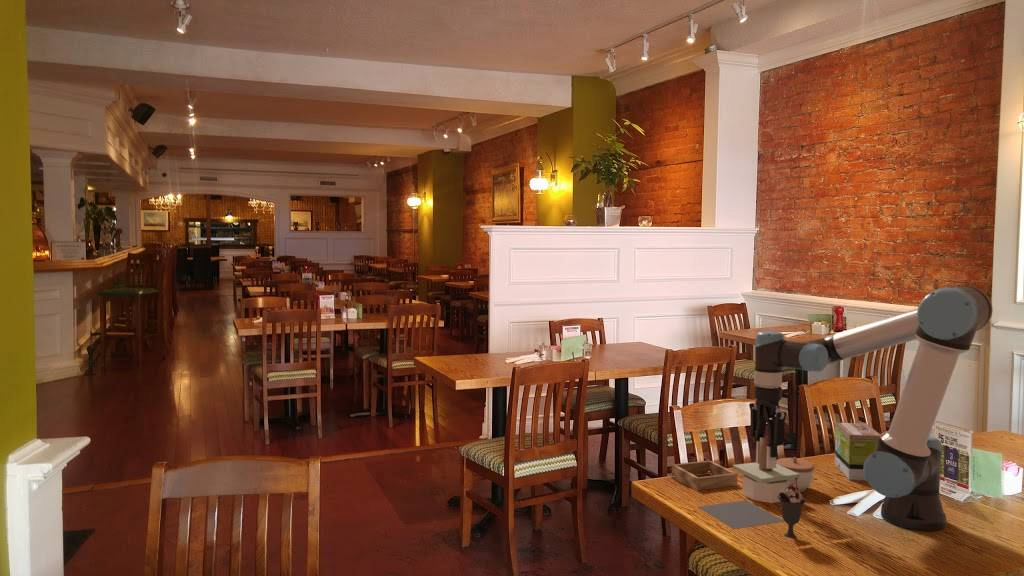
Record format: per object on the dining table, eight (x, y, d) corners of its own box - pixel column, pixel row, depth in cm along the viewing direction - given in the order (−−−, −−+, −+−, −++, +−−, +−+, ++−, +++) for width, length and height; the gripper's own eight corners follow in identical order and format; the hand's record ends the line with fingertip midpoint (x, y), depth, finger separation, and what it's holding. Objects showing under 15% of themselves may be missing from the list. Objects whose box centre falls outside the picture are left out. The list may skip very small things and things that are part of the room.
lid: (799, 478, 203) (800, 442, 203) (761, 483, 199) (762, 446, 198) (769, 464, 216) (770, 430, 215) (732, 469, 211) (733, 434, 211)
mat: (784, 523, 188) (784, 521, 188) (733, 531, 183) (733, 529, 183) (746, 502, 203) (746, 500, 203) (697, 509, 198) (697, 506, 198)
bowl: (795, 501, 204) (796, 480, 204) (761, 506, 200) (761, 485, 200) (768, 487, 215) (768, 468, 215) (735, 492, 212) (735, 472, 211)
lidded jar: (819, 495, 210) (820, 463, 209) (782, 494, 210) (783, 463, 209) (805, 482, 220) (806, 452, 220) (770, 482, 220) (770, 452, 220)
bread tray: (737, 486, 216) (737, 473, 216) (697, 492, 211) (697, 478, 211) (709, 472, 229) (710, 460, 229) (671, 477, 225) (671, 464, 224)
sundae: (803, 534, 181) (805, 476, 180) (805, 545, 175) (807, 485, 174) (776, 531, 183) (777, 473, 182) (776, 541, 177) (778, 481, 176)
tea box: (833, 465, 237) (834, 421, 236) (865, 466, 236) (867, 422, 235) (848, 480, 222) (849, 433, 221) (882, 482, 221) (884, 434, 220)
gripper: (799, 390, 199) (796, 473, 200) (759, 379, 215) (757, 455, 216) (777, 392, 196) (774, 475, 198) (738, 380, 212) (736, 458, 214)
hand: (765, 465), depth 207 cm, fingers open, 4 cm apart
